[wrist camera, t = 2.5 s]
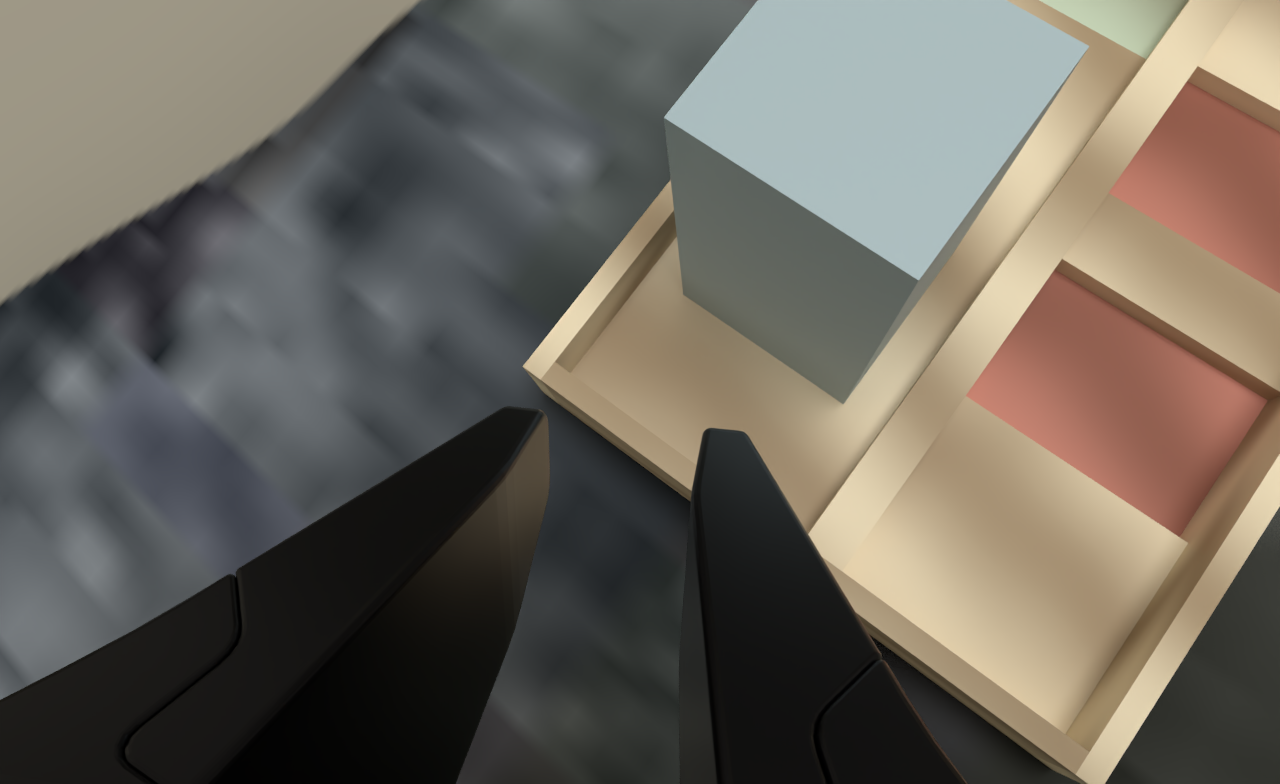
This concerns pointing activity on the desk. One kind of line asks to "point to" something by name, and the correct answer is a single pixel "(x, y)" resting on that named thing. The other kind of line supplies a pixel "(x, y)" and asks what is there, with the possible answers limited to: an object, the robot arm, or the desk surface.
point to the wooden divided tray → (1020, 389)
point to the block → (849, 163)
